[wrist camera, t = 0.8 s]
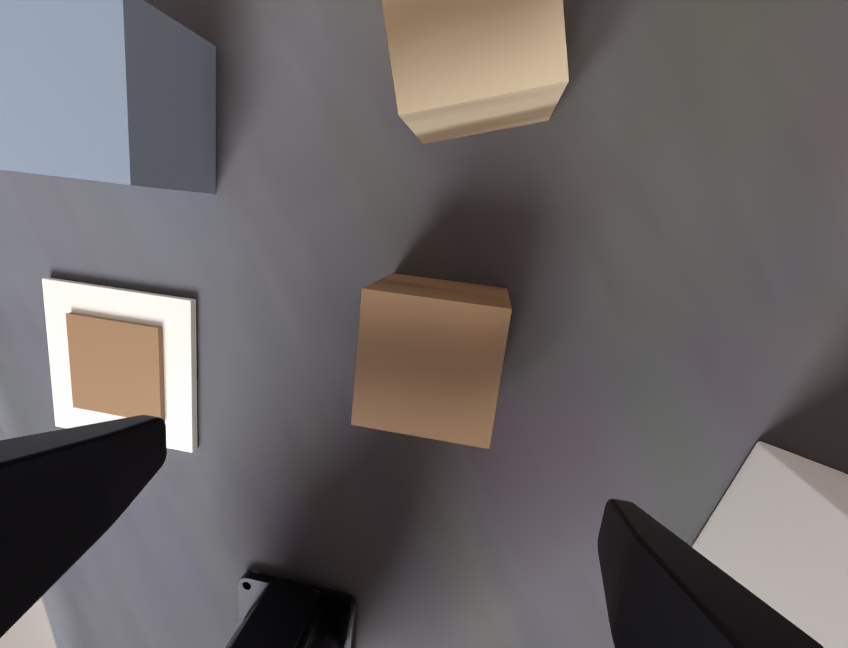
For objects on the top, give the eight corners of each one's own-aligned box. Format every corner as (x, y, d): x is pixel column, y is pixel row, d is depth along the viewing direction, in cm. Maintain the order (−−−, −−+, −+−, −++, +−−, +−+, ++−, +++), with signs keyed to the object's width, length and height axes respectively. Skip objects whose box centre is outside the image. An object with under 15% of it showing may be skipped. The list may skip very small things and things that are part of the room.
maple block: (548, 121, 17) (568, 81, 13) (423, 144, 18) (398, 115, 13) (535, -22, 16) (553, -125, 12) (405, 10, 17) (370, -73, 12)
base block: (217, 194, 20) (130, 184, 15) (99, 180, 21) (-19, 167, 16) (217, 47, 19) (122, -14, 14) (91, 38, 19) (-41, -23, 15)
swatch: (197, 448, 23) (188, 455, 22) (62, 422, 24) (50, 428, 23) (195, 299, 21) (186, 301, 21) (50, 277, 22) (35, 279, 22)
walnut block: (490, 395, 20) (489, 449, 15) (383, 378, 21) (350, 424, 16) (507, 287, 19) (512, 309, 14) (393, 272, 20) (361, 288, 15)
